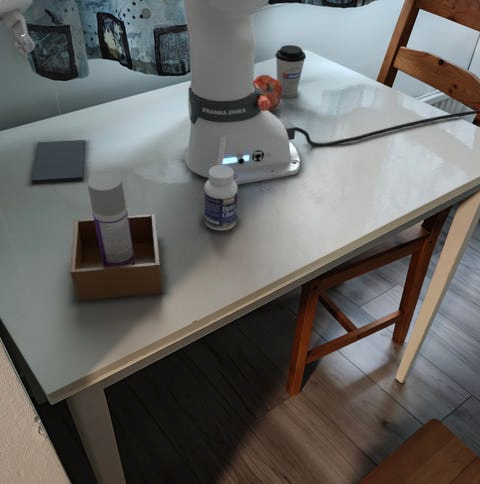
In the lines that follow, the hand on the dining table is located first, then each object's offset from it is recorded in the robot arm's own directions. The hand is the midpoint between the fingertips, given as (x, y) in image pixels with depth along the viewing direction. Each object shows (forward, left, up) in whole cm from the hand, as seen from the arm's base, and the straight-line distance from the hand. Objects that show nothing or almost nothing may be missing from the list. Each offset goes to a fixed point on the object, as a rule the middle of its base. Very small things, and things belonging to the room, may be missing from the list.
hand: (6, 60), depth 66 cm
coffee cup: (-50, -49, -27) cm, 75 cm away
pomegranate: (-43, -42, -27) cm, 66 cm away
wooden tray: (-10, +10, -27) cm, 31 cm away
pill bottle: (-27, 0, -27) cm, 39 cm away
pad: (+1, -23, -27) cm, 35 cm away
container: (-10, +10, -27) cm, 31 cm away
